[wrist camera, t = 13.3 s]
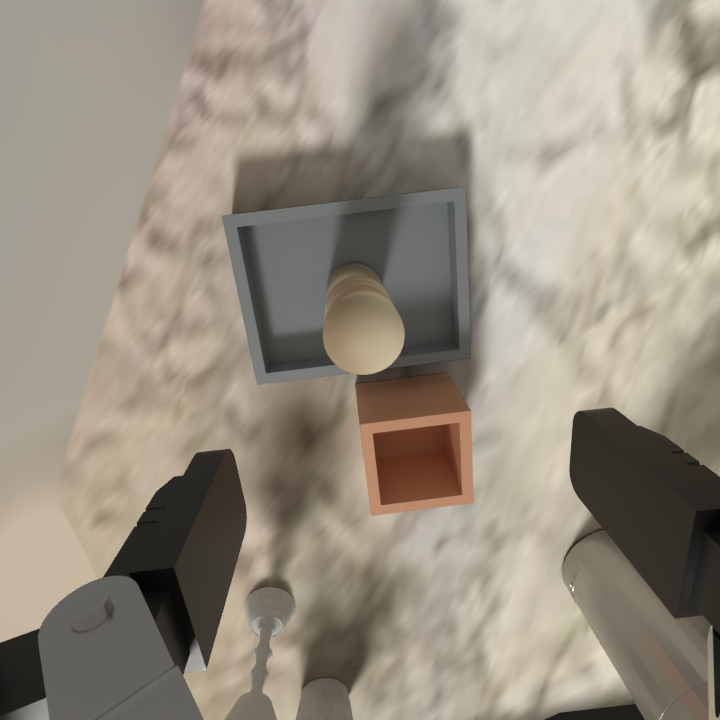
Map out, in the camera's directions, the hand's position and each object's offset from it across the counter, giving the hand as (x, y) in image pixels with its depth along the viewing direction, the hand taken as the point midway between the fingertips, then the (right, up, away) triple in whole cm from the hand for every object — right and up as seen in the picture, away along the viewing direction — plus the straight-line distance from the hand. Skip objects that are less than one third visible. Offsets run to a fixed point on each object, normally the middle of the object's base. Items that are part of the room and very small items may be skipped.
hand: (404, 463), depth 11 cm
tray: (-2, +8, +23) cm, 25 cm away
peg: (-2, +8, +23) cm, 24 cm away
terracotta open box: (+3, -3, +28) cm, 28 cm away
